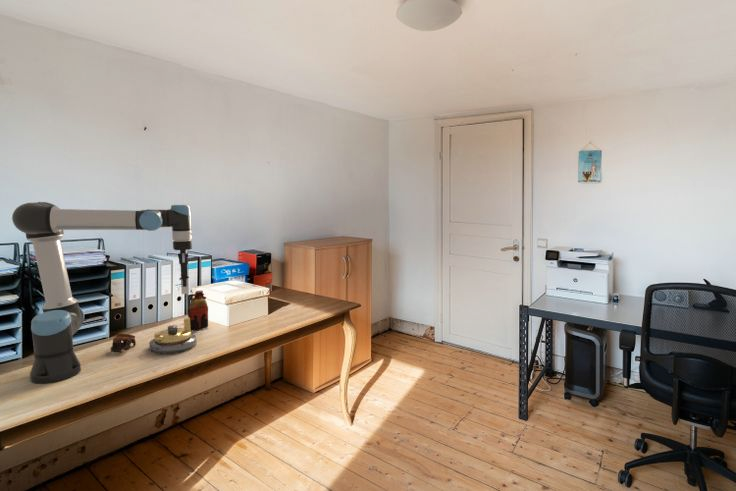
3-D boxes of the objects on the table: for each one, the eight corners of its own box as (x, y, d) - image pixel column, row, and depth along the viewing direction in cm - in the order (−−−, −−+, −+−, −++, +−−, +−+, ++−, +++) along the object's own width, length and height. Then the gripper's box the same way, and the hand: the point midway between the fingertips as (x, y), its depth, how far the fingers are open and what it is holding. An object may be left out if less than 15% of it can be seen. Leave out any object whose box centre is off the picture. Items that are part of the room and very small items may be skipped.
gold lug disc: (155, 347, 172) (154, 327, 171) (153, 336, 185) (152, 318, 184) (193, 341, 179) (192, 322, 178) (189, 331, 192) (188, 313, 191)
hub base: (161, 358, 169) (160, 337, 168) (142, 347, 181) (141, 327, 180) (204, 345, 184) (203, 326, 183) (184, 335, 196) (183, 317, 195)
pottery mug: (104, 352, 176) (110, 333, 180) (126, 355, 183) (132, 337, 187) (117, 351, 170) (123, 331, 173) (140, 355, 176) (145, 336, 180)
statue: (206, 324, 214) (205, 287, 212) (209, 328, 208) (208, 290, 205) (181, 327, 207) (180, 289, 205) (184, 332, 201) (183, 292, 198)
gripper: (192, 241, 172) (194, 295, 175) (191, 238, 184) (193, 289, 187) (172, 242, 169) (175, 297, 172) (172, 239, 181) (175, 291, 184)
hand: (185, 293), depth 179 cm, fingers closed
